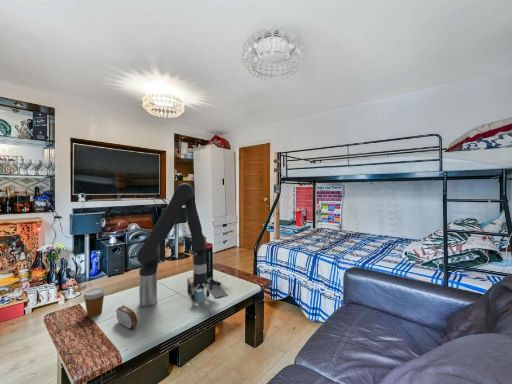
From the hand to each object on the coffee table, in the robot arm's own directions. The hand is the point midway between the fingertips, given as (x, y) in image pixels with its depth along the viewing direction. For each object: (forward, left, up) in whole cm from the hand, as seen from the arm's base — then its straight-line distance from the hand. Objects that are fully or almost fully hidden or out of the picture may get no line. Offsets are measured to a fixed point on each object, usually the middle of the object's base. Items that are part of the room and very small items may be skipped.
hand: (200, 298), depth 140 cm
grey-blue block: (0, +4, -2) cm, 4 cm away
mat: (+13, +8, -2) cm, 15 cm away
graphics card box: (+11, +34, -2) cm, 36 cm away
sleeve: (0, +11, -2) cm, 11 cm away
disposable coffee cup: (-53, +12, -2) cm, 55 cm away
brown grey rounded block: (-38, -8, -2) cm, 39 cm away
